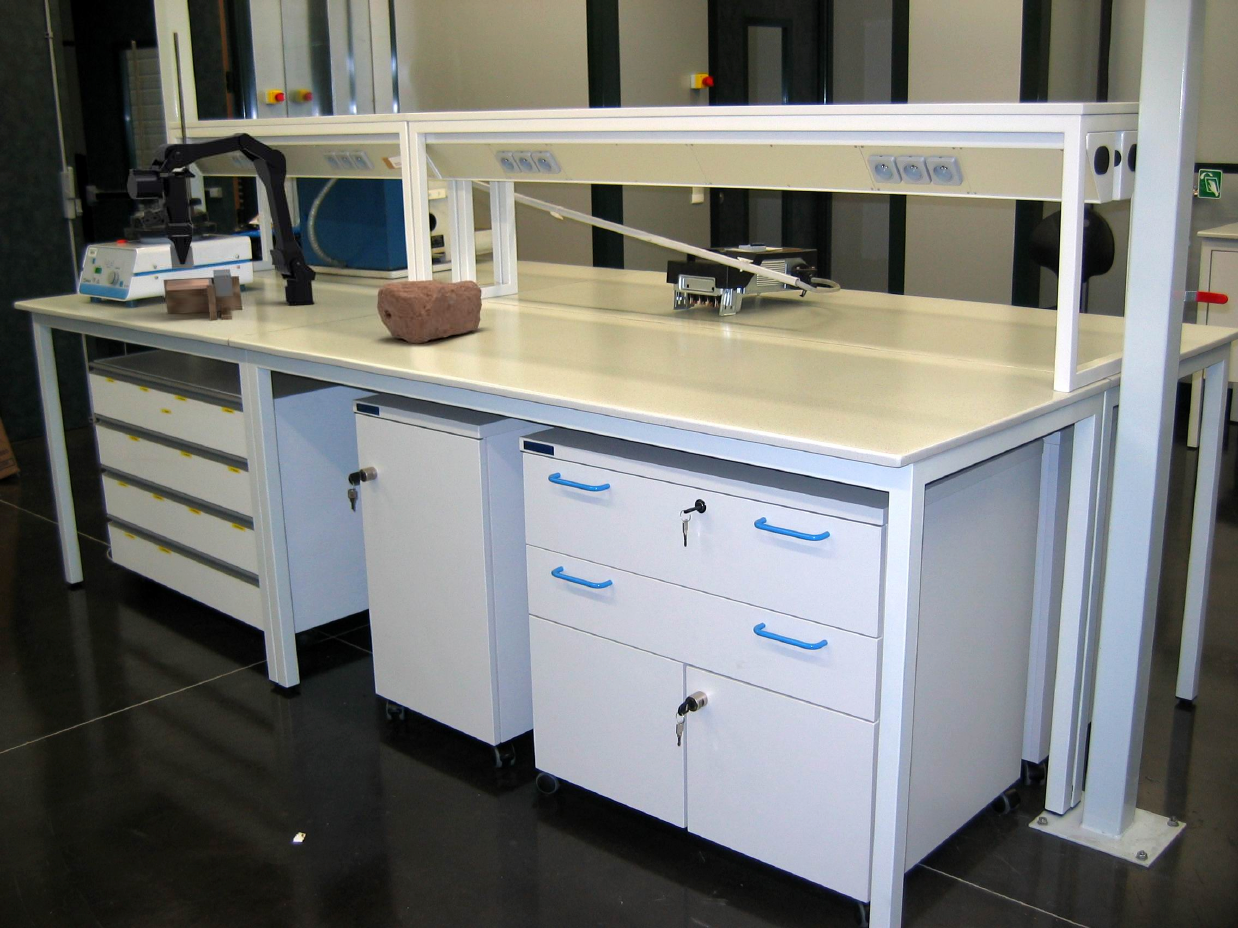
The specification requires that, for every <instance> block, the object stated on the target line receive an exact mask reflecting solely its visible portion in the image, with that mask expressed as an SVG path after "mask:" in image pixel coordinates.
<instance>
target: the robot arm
mask: <svg viewBox="0 0 1238 928" xmlns="http://www.w3.org/2000/svg"><path fill="white" fill-rule="evenodd" d="M232 152H240V153H241V154H242V155H243V157H245V158H246V159H247V160H249V161H250V162H252V163H253V165H254V168H255V171H256V173H257V176H258V178H259V179H260V180H261V182H262V184H263V186H264V188H265V192H266V198H267V203H268V207H269V213H270V217H271V222H272V223H271V224H272V227H273V231H274V232H273V233H274V235H275V236H274V237H275V246H274V249H269V254H270V256H271V260H272V261H271V265H272V266H274V268H275V270H276V271H277V272H278V273H280V276H281V277H282V280H285V281H286V282H285V283H286V285H284V295H285V302H286V303H287V304H288V306H295V305H297V306H299V305H301V306H302V305H313V304H315V300H314V298H313V297H314V295H313V284H312V281H313V282H314V281H315V279H316V275H317V272H316V271H315V270H314V269H313V268H312V267H311V266H309V265H308V264H307V262H306V258H305V255H304V253H303V250H302V248H301V247H300V246H299V244H298V242H297V241H296V238H295V233H294V227H293V223H292V219H291V218H292V217H291V214H290V213H291V212H290V209H289V208H290V206H289V202H288V198H287V194H286V193H287V192H286V187H285V183H286V178H287V170H288V169H287V159H286V156H285V154H284V153H283V152H282V151H280V150H279V149H274V148H272V147H270V146H269V145H267V144H265V143H263V142H262V141H259V140H258V139H256V138H255V137H253V136H252V135H250V134H249V133H247V132H236V133H233V134H231V135H226V136H221V137H217V138H211V139H206V140H202V141H197V142H193V143H189V142H188V143H161V144H159V145H158V146H157V148H156V150H155V153H154V159H153V160H152V162H151V164H150V165H149V167H148V169H135V168H132V169H129V175H128V179H127V183H126V187H127V191H128V195H129V196H130V198H131V200H132V199H133V200H139V199H141V200H142V199H145V200H146V199H158V198H159V197H160V195H162V197H163V198H162V200H163V203H162V204H161V206H162V208H160V209H158V210H152V209H148V210H145V211H144V212H143V215H141V216H140V217H139V220H140V221H141V225H142V226H143V228H144V230H145V231H147V230H150V229H152V227H155V226H158V225H160V224H163V225H164V227H163V229H164V236H165V237H166V238H167V239H168V240H169V241H171V242H173V243H174V246H175V249H176V253H177V256H178V259H179V262H180V264H185V262H186V259H187V255H188V251H189V248H190V246H192V245H191V244H192V241H193V237H194V227H193V222H192V219H191V209H190V199H189V190H188V179H195V178H196V175H195V173H193V171H191V170H189V168H188V167H187V166H190V165H192V164H194V163H195V162H197V161H199V160H201V159H204V158H209V157H214V156H219V155H223V154H227V153H232ZM176 169H181V170H176ZM161 174H167V175H161Z"/></svg>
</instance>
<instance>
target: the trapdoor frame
mask: <svg viewBox="0 0 1238 928" xmlns="http://www.w3.org/2000/svg"><path fill="white" fill-rule="evenodd" d="M209 278H211V279H212V285H207V288H203V289H184V290H166V285H167V281H170V280H190V279H209ZM231 280H232V289H233V296H217V297H216V293H215V284H214V276H212V277H211V276H210V277H192V278H191V277H190V278H172V279H171V278H169V279H163V288H164V297H165V303H166V304H165V305H166V313H167V314H168V315H172V314H173V315H175V314H176V315H177V314H191V313H207V312H209V317H210V321H218V313H217V312H220V313H221V320H225V321H226V320H228V321H229V320H233V314H232V311H242V310H243V304H242V303H243V302H242V293H241V285H240V284H241V283H240V276H239V275H234V276H233V275H231Z"/></svg>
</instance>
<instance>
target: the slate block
mask: <svg viewBox="0 0 1238 928" xmlns="http://www.w3.org/2000/svg"><path fill="white" fill-rule="evenodd" d="M169 245H170V246H169V252H170V263H171V269H173V270H174V269H175V270H178V269H195V264H194V263H195V262H194V252H193V245H190V248H189V251H188V255H187V259H186V262H185V264H180V262H179V259H178V256H177V253H176V249H175V246H174V243H173V242H172V241H171V242H169Z"/></svg>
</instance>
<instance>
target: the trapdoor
mask: <svg viewBox="0 0 1238 928" xmlns="http://www.w3.org/2000/svg"><path fill="white" fill-rule="evenodd" d="M212 271H213V273H212V274H213V277H214V284H215V293H216V297H217V296H233V289H232V280H231V276H232V273H231V270H230V268H228V269H224V268H223V269H213V270H212ZM207 285H212V279H211V278H209V279H190V280H170V281H167V285H166V290H184V289H203V288H207Z"/></svg>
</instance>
